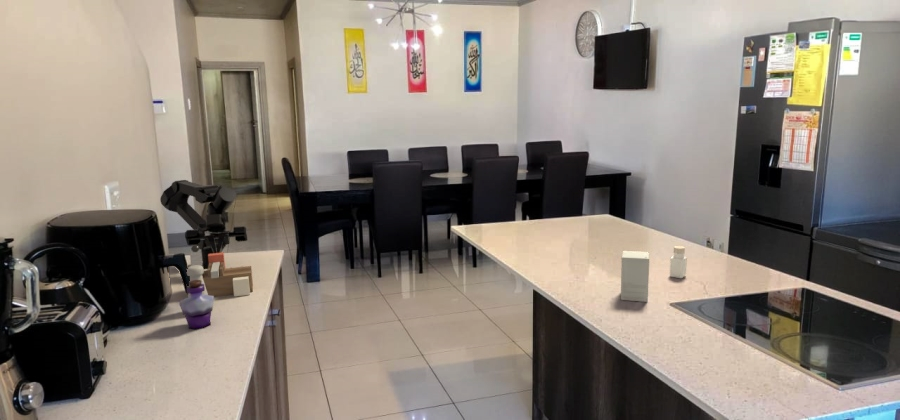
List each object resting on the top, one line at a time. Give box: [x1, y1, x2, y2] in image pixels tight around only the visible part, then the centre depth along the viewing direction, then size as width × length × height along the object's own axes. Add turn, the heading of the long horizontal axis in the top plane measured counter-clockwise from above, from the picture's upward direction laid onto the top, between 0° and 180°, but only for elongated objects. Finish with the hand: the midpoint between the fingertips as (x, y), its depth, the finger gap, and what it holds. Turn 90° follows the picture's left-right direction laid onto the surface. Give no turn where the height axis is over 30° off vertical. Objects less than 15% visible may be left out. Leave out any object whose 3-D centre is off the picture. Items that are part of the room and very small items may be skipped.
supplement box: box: [620, 250, 650, 303], centre depth 163 cm, size 7×7×13 cm
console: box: [203, 262, 254, 297], centre depth 176 cm, size 8×18×8 cm, turn 108°
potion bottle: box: [179, 280, 215, 331], centre depth 149 cm, size 9×9×12 cm
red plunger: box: [208, 251, 226, 278], centre depth 175 cm, size 13×4×6 cm, turn 18°
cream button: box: [233, 276, 251, 297], centre depth 173 cm, size 2×4×5 cm, turn 108°
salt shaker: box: [186, 265, 208, 298], centre depth 159 cm, size 6×6×13 cm
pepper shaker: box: [669, 245, 688, 279], centre depth 181 cm, size 4×4×10 cm
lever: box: [189, 245, 203, 277], centre depth 171 cm, size 2×3×10 cm
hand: (217, 257), depth 187 cm, fingers closed
